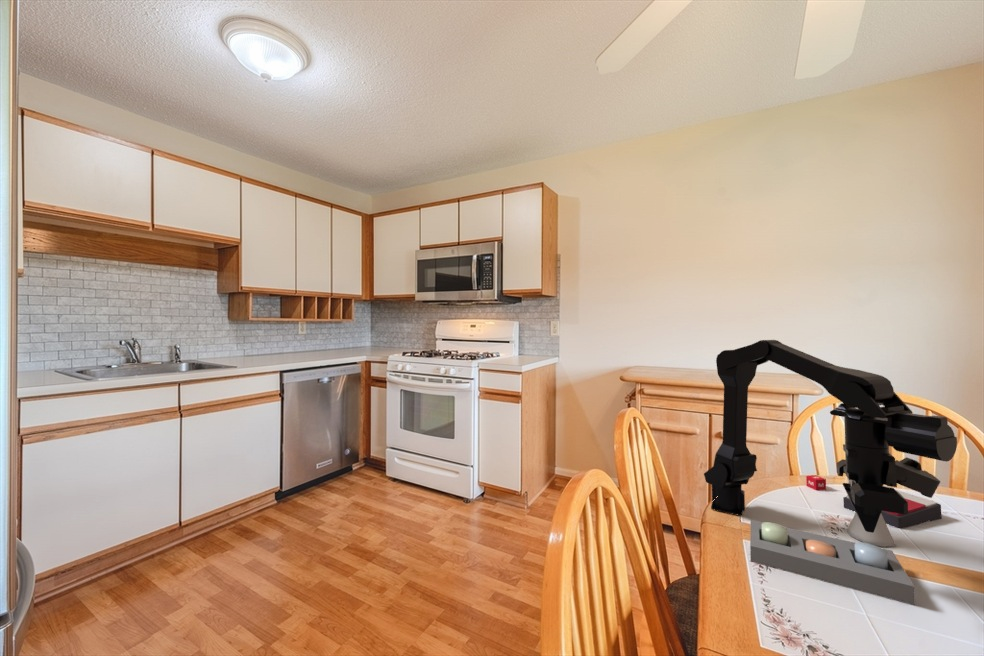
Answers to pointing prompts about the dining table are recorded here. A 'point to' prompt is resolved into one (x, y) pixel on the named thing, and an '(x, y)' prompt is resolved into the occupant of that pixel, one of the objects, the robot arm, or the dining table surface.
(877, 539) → the flask
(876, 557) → the button blue
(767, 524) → the button sage
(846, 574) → the button panel
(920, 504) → the black product box
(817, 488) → the red letter cube
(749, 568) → the dining table surface
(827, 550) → the button terracotta
